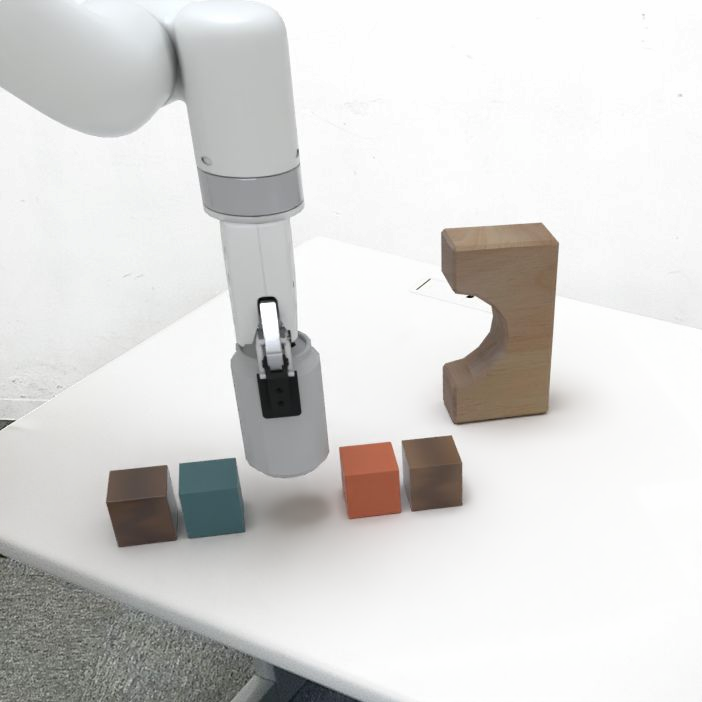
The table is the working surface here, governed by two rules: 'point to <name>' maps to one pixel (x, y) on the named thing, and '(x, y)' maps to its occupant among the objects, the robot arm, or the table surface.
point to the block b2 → (211, 497)
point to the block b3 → (370, 479)
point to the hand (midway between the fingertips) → (279, 390)
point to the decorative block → (503, 319)
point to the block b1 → (142, 505)
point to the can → (287, 432)
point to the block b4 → (432, 472)
